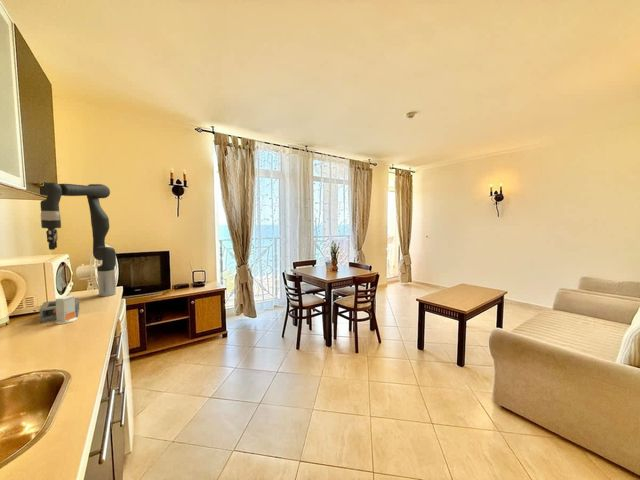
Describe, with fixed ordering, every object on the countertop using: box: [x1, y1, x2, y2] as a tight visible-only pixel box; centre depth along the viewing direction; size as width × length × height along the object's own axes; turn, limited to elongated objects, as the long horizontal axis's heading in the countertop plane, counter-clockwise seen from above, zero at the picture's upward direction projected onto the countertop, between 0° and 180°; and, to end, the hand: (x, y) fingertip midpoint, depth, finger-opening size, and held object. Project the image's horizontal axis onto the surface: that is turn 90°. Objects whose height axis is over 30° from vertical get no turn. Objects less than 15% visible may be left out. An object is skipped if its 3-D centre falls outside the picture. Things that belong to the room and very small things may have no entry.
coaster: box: [55, 316, 78, 325], centre depth 134 cm, size 8×8×1 cm
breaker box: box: [38, 297, 80, 323], centre depth 141 cm, size 14×14×7 cm
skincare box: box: [55, 295, 75, 322], centre depth 134 cm, size 6×4×12 cm
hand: (53, 248), depth 143 cm, fingers open, 8 cm apart
